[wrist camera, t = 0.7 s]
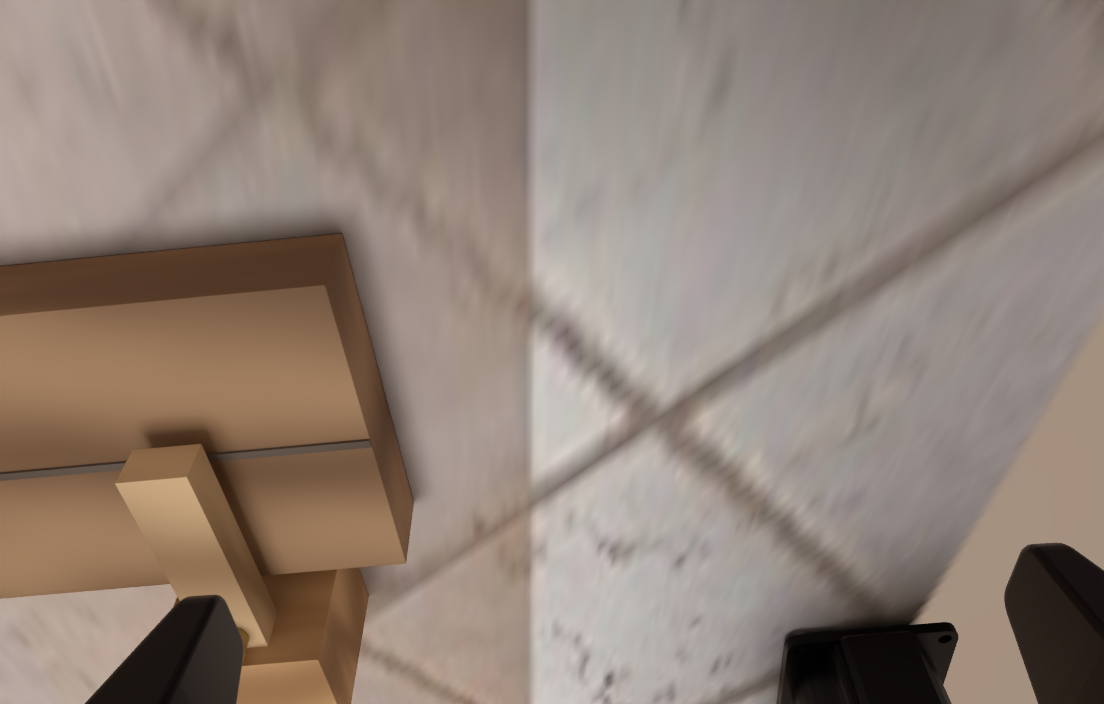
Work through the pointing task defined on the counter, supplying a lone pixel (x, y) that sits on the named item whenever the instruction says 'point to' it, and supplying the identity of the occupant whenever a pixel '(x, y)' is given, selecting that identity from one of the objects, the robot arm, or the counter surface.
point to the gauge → (247, 582)
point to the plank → (193, 409)
